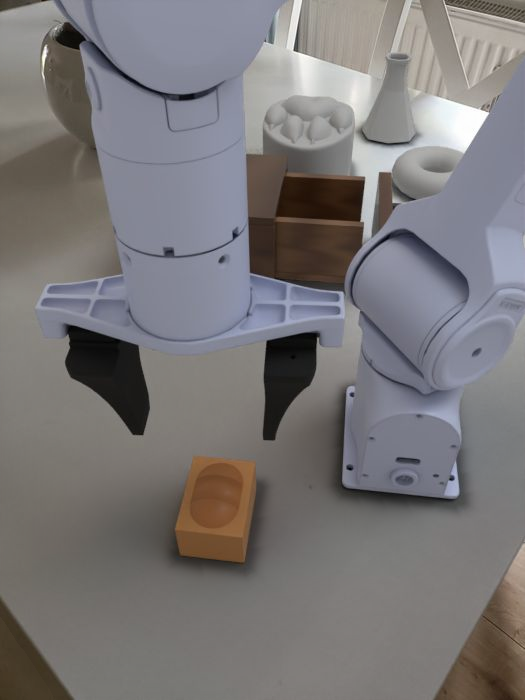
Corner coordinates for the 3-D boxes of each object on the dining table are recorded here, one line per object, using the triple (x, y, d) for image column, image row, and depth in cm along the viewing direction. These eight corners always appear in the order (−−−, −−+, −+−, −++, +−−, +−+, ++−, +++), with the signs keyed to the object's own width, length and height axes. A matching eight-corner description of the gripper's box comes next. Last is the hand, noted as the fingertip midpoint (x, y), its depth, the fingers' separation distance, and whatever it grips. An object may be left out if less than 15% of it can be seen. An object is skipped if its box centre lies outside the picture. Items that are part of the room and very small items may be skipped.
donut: (387, 205, 71) (478, 212, 69) (391, 178, 69) (485, 184, 67) (392, 164, 78) (474, 170, 76) (395, 138, 76) (480, 143, 74)
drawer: (424, 234, 65) (436, 174, 60) (430, 296, 57) (444, 234, 53) (264, 224, 67) (264, 165, 62) (250, 283, 59) (248, 221, 54)
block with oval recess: (244, 563, 40) (242, 530, 37) (179, 555, 40) (173, 522, 37) (256, 488, 44) (255, 454, 41) (197, 482, 44) (192, 448, 41)
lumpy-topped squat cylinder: (352, 157, 79) (358, 88, 73) (346, 211, 70) (353, 137, 64) (271, 152, 80) (271, 84, 74) (255, 204, 71) (253, 131, 65)
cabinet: (286, 230, 67) (288, 155, 61) (274, 296, 59) (274, 218, 53) (164, 222, 69) (154, 148, 63) (135, 286, 60) (120, 208, 54)
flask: (416, 146, 81) (429, 67, 74) (360, 143, 82) (368, 64, 75) (415, 123, 86) (427, 47, 79) (362, 120, 87) (370, 44, 80)
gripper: (349, 176, 29) (330, 378, 38) (42, 170, 30) (98, 370, 39) (356, 265, 24) (333, 473, 33) (-14, 256, 25) (66, 462, 34)
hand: (205, 424), depth 36 cm, fingers open, 7 cm apart
